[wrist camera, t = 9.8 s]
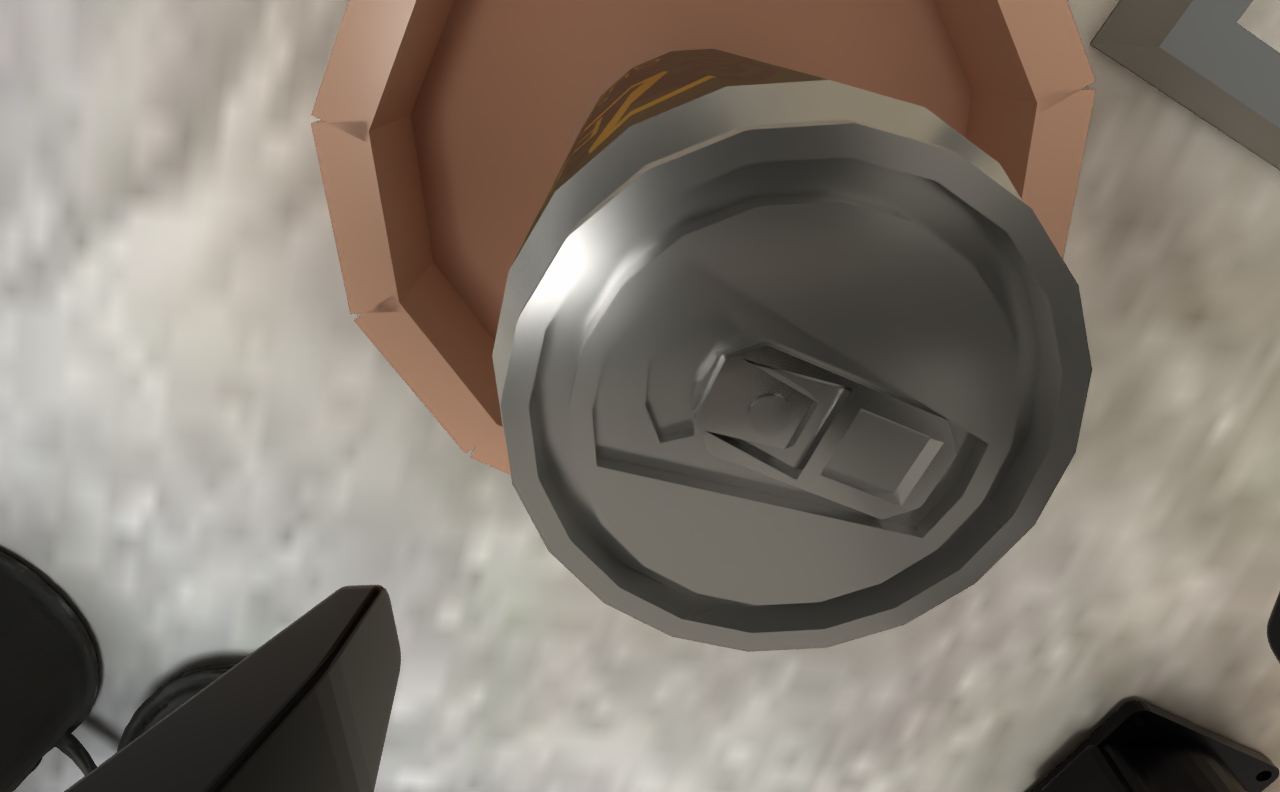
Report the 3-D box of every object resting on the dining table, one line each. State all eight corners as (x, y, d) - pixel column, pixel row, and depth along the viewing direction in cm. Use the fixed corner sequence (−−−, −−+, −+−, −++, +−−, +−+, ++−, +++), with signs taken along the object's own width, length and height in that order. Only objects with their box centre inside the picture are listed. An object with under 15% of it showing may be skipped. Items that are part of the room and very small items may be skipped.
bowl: (1123, 33, 17) (1253, 35, 14) (782, 511, 22) (811, 604, 19) (540, -360, 14) (510, -490, 11) (305, 293, 20) (232, 354, 16)
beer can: (859, 113, 17) (1265, 266, 6) (746, 329, 19) (898, 732, 8) (630, 1, 16) (624, -55, 5) (537, 241, 18) (394, 565, 7)
